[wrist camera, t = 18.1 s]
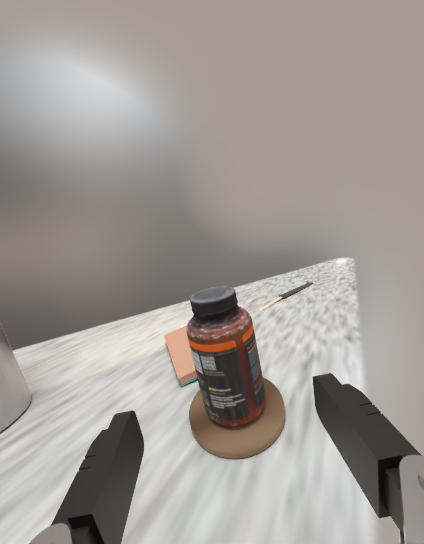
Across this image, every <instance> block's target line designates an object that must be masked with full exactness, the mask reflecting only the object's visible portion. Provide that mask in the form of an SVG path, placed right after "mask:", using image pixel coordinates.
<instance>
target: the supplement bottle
mask: <svg viewBox="0 0 424 544" xmlns="http://www.w3.org/2000/svg"><path fill="white" fill-rule="evenodd" d="M190 302H191V306H192V311H193V313H194V316H193V317H192V318H191V320H190V321H189V323H188V325H187V337H188V341H189V345H190V349H191V353H192V358H193V361H194V366H195V370H196V374H197V378H198V382H199V386H200V391H201V395H202V399H203V403H204V406H205V410H206V412H207V414H208V416H209V417H210V418H211V419H212V420H213V421H214V422H216V423H218V424H220V425H222V426H227V427H238V426H242V425H245V424H247V423H250V422H251V421H253V420H254V419H256V418H257V417H258V416H259V415H260V414H261V412H262V410H263V408H264V405H265V399H266V397H265V389H264V383H263V378H262V372H261V367H260V361H259V356H258V350H257V345H256V339H255V333H254V329H253V323H252V319H251V316H250V314H249V313H248V312H247V311H246V310H245V309H243V308H241V307H239V306H238V305H237V303H238V301H237V298H236V293H235V289H234V288H232V287H228V286H218V287H212V288H207V289H204V290H201V291H199V292H197V293H195V294H194V295H192V296H191V298H190Z"/></svg>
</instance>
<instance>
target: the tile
mask: <svg viewBox="0 0 424 544" xmlns="http://www.w3.org/2000/svg"><path fill="white" fill-rule="evenodd" d="M164 337H165V340H166V343H167V346H168V349H169V352H170V355H171V358H172V361H173V365H174V368H175V371H176V374H177V377H178V380H179V382H180V385H181V387H183V386H185V385H187V384H189V383H191V382H193V381H195V380H196V379H198V378H197V374H196V370H195V366H194V361H193V358H192V353H191V349H190V345H189V341H188V337H187V326H185V327H183V328H180V329H178V330H176V331H173V332H171V333H169V334H166V335H164Z"/></svg>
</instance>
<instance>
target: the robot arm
mask: <svg viewBox="0 0 424 544" xmlns="http://www.w3.org/2000/svg"><path fill="white" fill-rule="evenodd" d="M313 386H314V397H315V406H316V410H317V413H318V416H319V418H320V420H321V422H322V424H323V426H324V427H325V429H326V431H327V432H328V434H329V436H330V437H331V439H332V441H333V442H334V444H335V446H336V447H337V449H338V451H339V452H340V454H341V456H342V457H343V459H344V461H345V462H346V464H347V466H348V467H349V469H350V471H351V472H352V474H353V476H354V477H355V479H356V481H357V482H358V484H359V486H360V487H361V489H362V491H363V492H364V494H365V496H366V497H367V499H368V501H369V502H370V504H371V506H372V507H373V509H374V511H375V512H376V514H377V516H378V517H379V518H382V517H388V516H391V517H392V519H393V520H394V522H395V523H396V525H397V527H398V528H399V540H400V544H424V456H422V455H421V454H420V453H419V452H418V451H417V450H416V449H415V448H414V447H413V446H412V445H411V444H410V443H409V442H408V441H407V440H406V439H405V438H404V436H403V435H402V434H401V433H400V432H399V431H398V430H397V429H396V428H395V427H394V426H393V425H392V424H391V423H390V422H389V420H388V419H387V418H386V417H385V416H384V415H383V414H381V413H380V411H379V410H378V409H377V408H376V407H375V406H374V405H372V402H371V401H370V400H369V399H368V398H367V397H366V396H365V395H364V394H363V393H362V392H361V391H359V390H358V389H356V388H354V387H353V386H351V385H350V384H344V385H342V384H341V383H340V382H339V381H338V380H337V379H336V377H335V376H334V375H333V374H331V373H329V374H324V375H319V376H314V377H313ZM30 402H31V394H30V392H29V390H28V387H27V385H26V383H25V380H24V378H23V375H22V373H21V370H20V368H19V365H18V363H17V361H16V358H15V356H14V354H13V351H12V349H11V346H10V344H9V342H8V339H7V337H6V335H5V332H4V330H3V327H2V325H1V323H0V432H1V431H2V430H4V429H5V428H6V427H8V426H9V425H10V424H11V423H12V422H14V421H15V420H16V419H17V418H18V417H19V416H20V415H21V414H22V413H23V412H24V411H25V410H26V408H27V407H28V406H29V404H30ZM143 452H144V440H143V436H142V433H141V429H140V426H139V423H138V420H137V417H136V414H135V412H134V411H128V412H123V413H117V414H115V415H114V417H113V419H112V421H111V423H110V425H109V428H108V429H106V430H102V432H101V433H100V434H99V435H98V436H97V437H96V439H95V440H94V441H93V442H92V444H91V446H90V448H89V450H88V452H87V454H86V456H85V460H83V462H82V464H81V466H80V468H79V472H77V474H76V476H75V478H74V480H73V482H72V484H71V486H70V488H69V490H68V492H67V494H66V496H65V498H64V500H63V502H62V504H61V506H60V508H59V510H58V512H57V514H56V516H55V518H54V520H53V522H52V524H51V526H50V527H48V528H46V529H45V530H43V531H42V532H41V533H39V534H38V535H37V536H36V537H35V538H34V539H33V540H32V541H31V542H30V543H29V544H121V541H122V537H123V533H124V529H125V525H126V521H127V517H128V513H129V509H130V505H131V501H132V497H133V493H134V489H135V485H136V481H137V477H138V473H139V469H140V465H141V461H142V457H143Z"/></svg>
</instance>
